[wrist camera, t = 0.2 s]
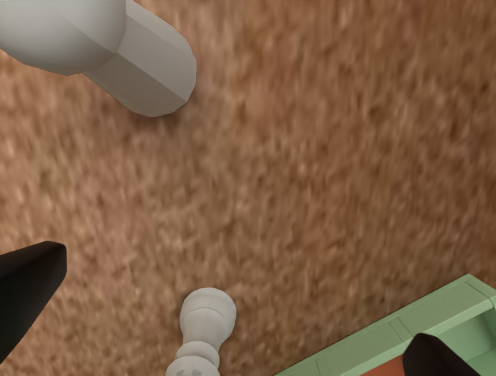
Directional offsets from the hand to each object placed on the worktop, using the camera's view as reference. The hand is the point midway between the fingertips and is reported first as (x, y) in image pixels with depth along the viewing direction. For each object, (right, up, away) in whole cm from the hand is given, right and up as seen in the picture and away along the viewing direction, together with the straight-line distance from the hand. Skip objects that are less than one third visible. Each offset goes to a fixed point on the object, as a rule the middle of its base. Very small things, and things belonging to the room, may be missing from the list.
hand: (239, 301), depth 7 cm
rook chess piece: (-3, -7, +17) cm, 18 cm away
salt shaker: (-6, +11, +14) cm, 18 cm away
